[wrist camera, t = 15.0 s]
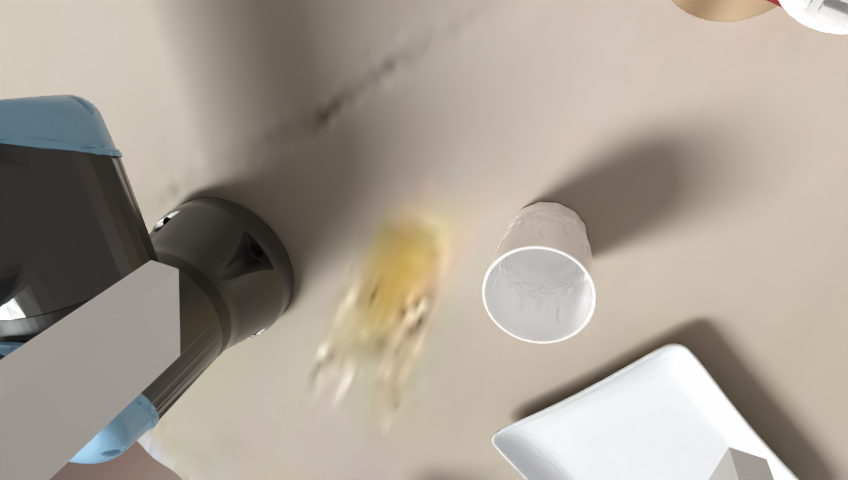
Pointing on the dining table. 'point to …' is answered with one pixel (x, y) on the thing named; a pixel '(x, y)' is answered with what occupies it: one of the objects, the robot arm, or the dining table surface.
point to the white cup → (542, 276)
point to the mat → (725, 9)
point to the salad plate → (637, 427)
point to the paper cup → (818, 14)
